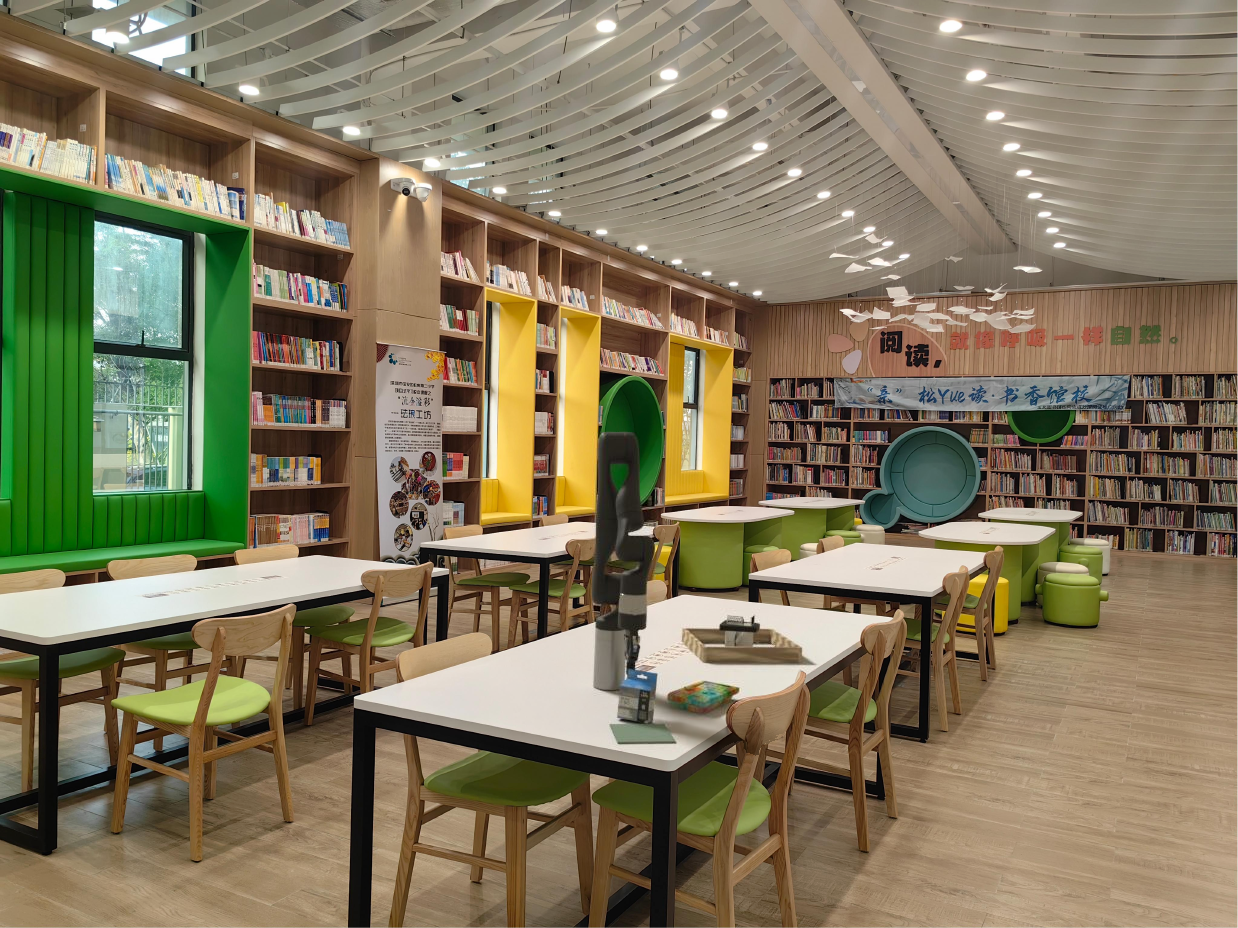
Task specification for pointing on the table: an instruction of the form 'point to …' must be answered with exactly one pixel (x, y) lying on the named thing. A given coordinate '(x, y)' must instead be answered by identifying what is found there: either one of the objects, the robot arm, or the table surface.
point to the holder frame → (780, 653)
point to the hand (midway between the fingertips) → (630, 675)
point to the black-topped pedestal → (739, 632)
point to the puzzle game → (702, 696)
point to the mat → (641, 733)
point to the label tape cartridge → (637, 697)
